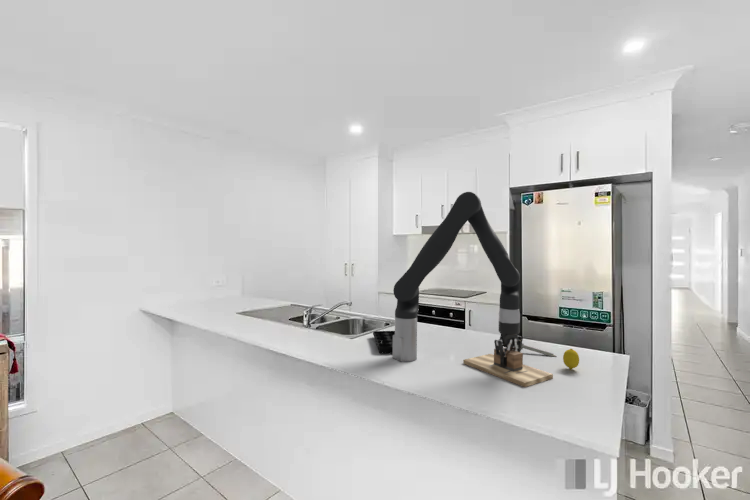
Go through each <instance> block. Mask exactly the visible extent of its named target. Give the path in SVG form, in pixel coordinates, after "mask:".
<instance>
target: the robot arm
mask: <svg viewBox="0 0 750 500" xmlns="http://www.w3.org/2000/svg"><path fill="white" fill-rule="evenodd" d="M467 222H468V223H469V224H470V226H471V227H472V229H473V230H474V233H475V234H476V237H477V239H478V241H479V243H480V246H481V247H482V249H483V251H484V253H485V255H486V257H487V258H488V260H489V262H490V263H491V265H492V267H493V269H494V271H495V273H496V276H497V278H498V279H499V281H500V295H499V310H498V332H499V333H500V336H499V339H494V349H496V355H499V356H500V364H501V366H503V367H507V353H508V351H509V350H514V351H517V352H521V353H522V350H521V347H522V343H523V340H524V338H523V336H521V335H519V334H520V333H521V313H520V283H521V274H520V272H519V270H518V269H517V268H516V267H515V265H514V264H513V262H512V260H511V259H510V257H509V253H508V252H507V249H506V248H505V246H504V244H503V242H502V241H501V239H500V238H499V237H498V235H497V234H496V232H495V231H494V229H493V227H492V226H491V224H490V222H489V221H488V218H487V217H486V214H485V211H484V209H483V207H482V202H481V199H480V197H479V196H478V195H477V194H476V193H475V192H473V191H465V192H463V193H461V194H459V195H458V196H457V197H456V200H455V202H454V203H453V205H452V206H451V208H450V210H449V212H448V213H447V215H446V216H445V218H444V219H443V221H442V222H441V223H440V224H439V225H438V226H437V227H436V229H435V230H434V231H433V232H432V234H431V235H430V236H429V238H428V239H427V241H426V242H425V243H424V244H423V247H422V248H421V249H420V251H419V252H418V253H417V255H416V256H415V258H414V260H413V262H412V264H411V265H410V266H409V268H408V269H407V270H406V271H405V272H404V273H403V275H402V276H400V278H399V279H398V280H397V281H396V282H395V283H394V286H393V295H394V297H395V299H396V300H397V301H396V307H395V310H394V331H395V335H393V351H392V352H391V353H392V354H391V355H392V356H391V357H392V359H394V360H396V361H399V362H413V361H416V360H417V356H418V355H417V354H418V352H417V351H418V312H419V303H420V301H419V300H420V286H421V284H423V283H422V282H423V281H424V280H425V278H426V277H427V276H428V275H429V274H430V273H431V272H433V270H434V269H435V268H436V267H437V266H438V265H439V264H440V263H441V262H442V261H443V259H444V258H445V257H446V255H447V254H448V253H449V251H450V250H451V248H452V246H453V245H454V243H455V241H456V239H457V237H458V235H459V233H460V231H461V229H462V228H464V225H466V223H467ZM517 345H518V346H517ZM503 347H504V348H503ZM499 350H500V352H499ZM503 350H505V352H504V353H503Z"/></svg>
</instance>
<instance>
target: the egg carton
mask: <svg viewBox="0 0 750 500" xmlns="http://www.w3.org/2000/svg"><path fill="white" fill-rule="evenodd" d="M372 335H373V338H374V340H375V344H376V346H377V350H378V353H379V354H380V355H386V354H387V355H388V354H391V353H392V351H393V335H395V330H377V331H376V330H375V331H373V332H372Z"/></svg>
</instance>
